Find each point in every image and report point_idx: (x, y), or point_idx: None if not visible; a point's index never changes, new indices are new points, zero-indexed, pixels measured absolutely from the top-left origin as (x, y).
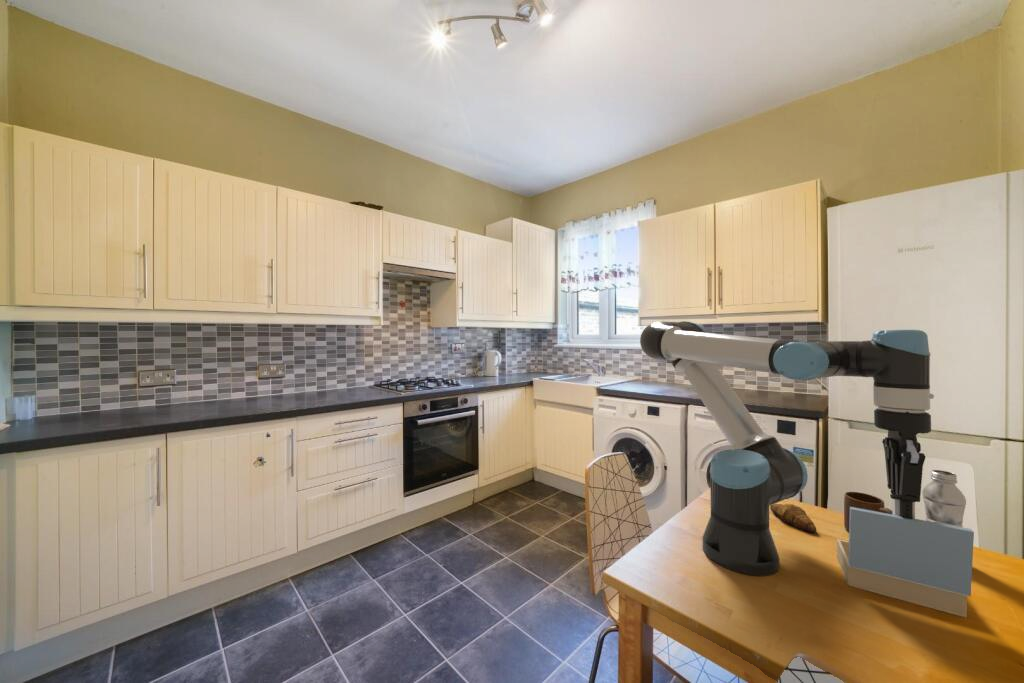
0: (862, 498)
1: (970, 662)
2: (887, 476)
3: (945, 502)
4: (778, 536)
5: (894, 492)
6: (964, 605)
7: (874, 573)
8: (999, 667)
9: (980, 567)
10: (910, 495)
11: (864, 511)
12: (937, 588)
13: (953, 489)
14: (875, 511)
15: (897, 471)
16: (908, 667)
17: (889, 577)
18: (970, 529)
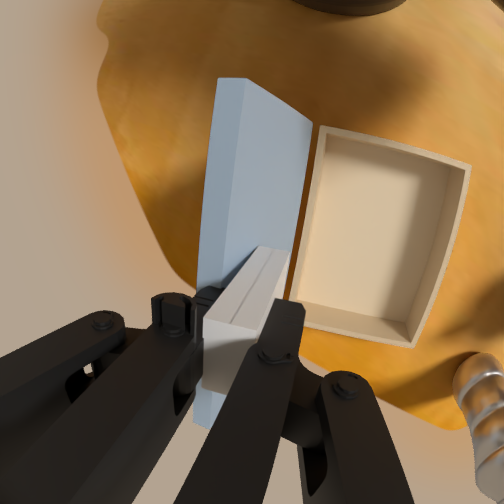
0: None
1: (170, 233)
2: (381, 450)
3: (487, 461)
4: (490, 66)
5: (244, 358)
6: None
7: (312, 177)
8: (178, 265)
9: (454, 402)
10: (91, 362)
11: (211, 135)
12: (292, 283)
13: (492, 495)
14: (229, 191)
15: (27, 455)
16: (126, 148)
17: (307, 205)
18: (206, 426)
